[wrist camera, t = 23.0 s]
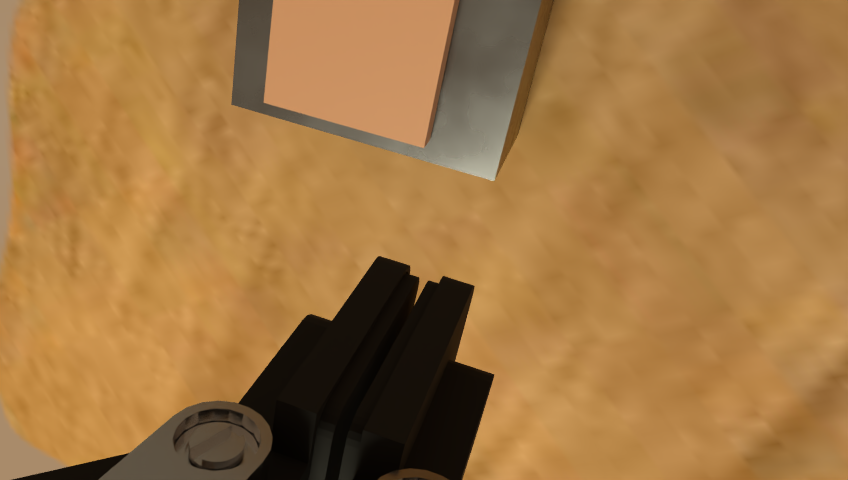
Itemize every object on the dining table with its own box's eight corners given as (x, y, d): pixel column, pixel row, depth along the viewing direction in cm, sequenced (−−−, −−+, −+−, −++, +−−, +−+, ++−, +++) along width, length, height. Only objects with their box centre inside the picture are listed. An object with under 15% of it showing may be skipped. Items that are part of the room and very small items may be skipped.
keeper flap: (472, -62, 28) (467, -60, 27) (430, 140, 32) (424, 148, 31) (294, -106, 29) (283, -105, 28) (273, 95, 33) (263, 102, 32)
